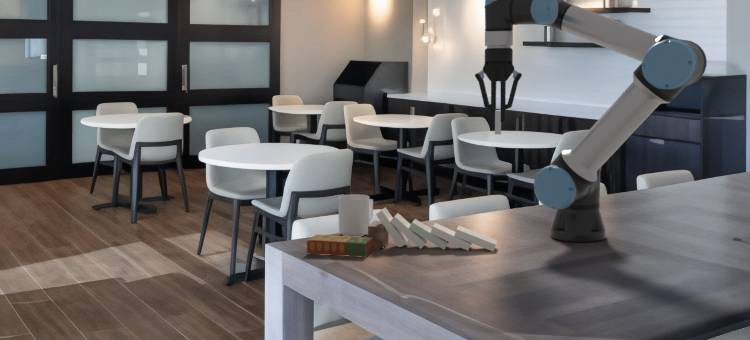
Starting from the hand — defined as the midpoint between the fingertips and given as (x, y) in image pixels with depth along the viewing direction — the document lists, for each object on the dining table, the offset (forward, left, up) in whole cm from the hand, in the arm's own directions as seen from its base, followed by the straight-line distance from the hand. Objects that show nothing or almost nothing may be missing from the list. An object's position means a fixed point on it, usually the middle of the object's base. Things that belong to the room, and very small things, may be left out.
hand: (498, 133), depth 238 cm
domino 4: (+6, +14, -29) cm, 32 cm away
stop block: (+31, +14, -29) cm, 45 cm away
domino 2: (+18, +14, -29) cm, 37 cm away
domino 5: (-1, +14, -29) cm, 32 cm away
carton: (+39, +24, -30) cm, 55 cm away
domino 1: (+24, +14, -29) cm, 40 cm away
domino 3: (+12, +14, -29) cm, 34 cm away
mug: (+40, 0, -30) cm, 50 cm away
